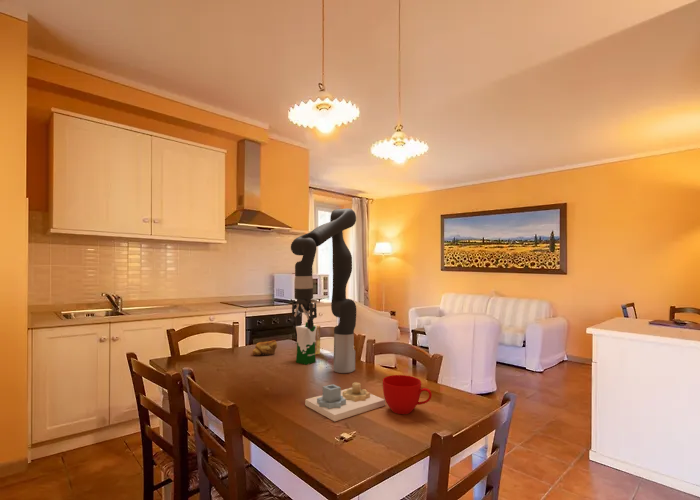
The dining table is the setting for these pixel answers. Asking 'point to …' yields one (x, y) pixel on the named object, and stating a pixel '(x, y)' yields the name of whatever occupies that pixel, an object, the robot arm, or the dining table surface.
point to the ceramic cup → (403, 393)
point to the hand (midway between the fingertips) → (304, 327)
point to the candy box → (317, 340)
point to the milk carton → (305, 344)
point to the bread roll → (265, 348)
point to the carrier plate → (348, 403)
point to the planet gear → (331, 397)
